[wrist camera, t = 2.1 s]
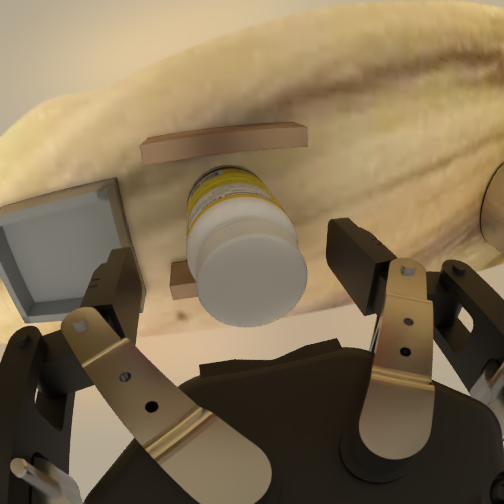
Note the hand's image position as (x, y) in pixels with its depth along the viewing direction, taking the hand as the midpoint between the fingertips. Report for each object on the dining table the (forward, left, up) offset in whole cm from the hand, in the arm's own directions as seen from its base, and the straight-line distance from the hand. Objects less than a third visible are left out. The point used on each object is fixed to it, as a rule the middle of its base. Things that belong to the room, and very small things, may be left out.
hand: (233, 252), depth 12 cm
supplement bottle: (0, 0, -7) cm, 7 cm away
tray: (+11, +2, -6) cm, 12 cm away
